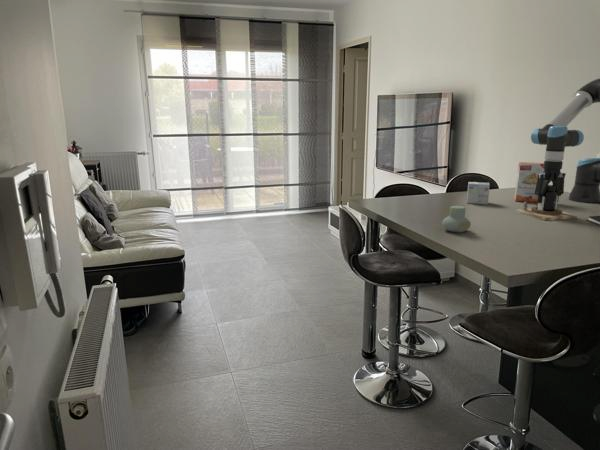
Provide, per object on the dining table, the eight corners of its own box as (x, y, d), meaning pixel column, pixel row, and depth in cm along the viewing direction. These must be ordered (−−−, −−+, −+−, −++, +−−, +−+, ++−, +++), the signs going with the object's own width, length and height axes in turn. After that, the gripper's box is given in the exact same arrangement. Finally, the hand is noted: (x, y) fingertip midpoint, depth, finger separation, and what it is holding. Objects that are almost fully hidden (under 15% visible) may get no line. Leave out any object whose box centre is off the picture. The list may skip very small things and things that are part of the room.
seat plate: (547, 210, 227) (548, 199, 225) (577, 218, 210) (578, 207, 208) (516, 211, 222) (517, 201, 221) (544, 220, 205) (545, 209, 204)
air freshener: (453, 234, 182) (456, 210, 179) (438, 230, 189) (440, 206, 186) (473, 231, 187) (475, 207, 184) (457, 227, 194) (459, 203, 191)
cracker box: (515, 201, 247) (520, 162, 242) (513, 199, 253) (518, 161, 248) (544, 203, 243) (549, 163, 238) (541, 201, 249) (547, 162, 244)
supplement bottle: (557, 212, 211) (560, 186, 208) (541, 211, 213) (544, 186, 210) (552, 209, 218) (555, 184, 215) (536, 208, 219) (540, 183, 216)
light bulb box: (487, 202, 245) (489, 182, 242) (488, 204, 239) (490, 184, 236) (466, 201, 248) (468, 181, 245) (466, 203, 242) (468, 183, 239)
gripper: (564, 158, 215) (557, 206, 221) (529, 160, 211) (523, 208, 216) (577, 160, 208) (570, 209, 214) (541, 161, 204) (535, 212, 209)
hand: (546, 209), depth 215 cm, fingers closed on supplement bottle, 7 cm apart
